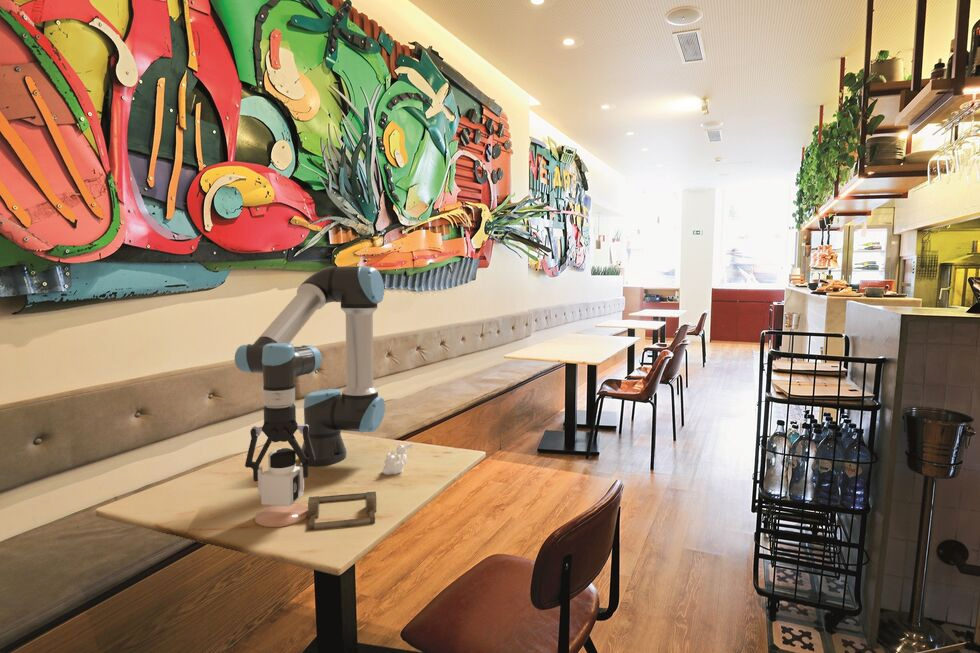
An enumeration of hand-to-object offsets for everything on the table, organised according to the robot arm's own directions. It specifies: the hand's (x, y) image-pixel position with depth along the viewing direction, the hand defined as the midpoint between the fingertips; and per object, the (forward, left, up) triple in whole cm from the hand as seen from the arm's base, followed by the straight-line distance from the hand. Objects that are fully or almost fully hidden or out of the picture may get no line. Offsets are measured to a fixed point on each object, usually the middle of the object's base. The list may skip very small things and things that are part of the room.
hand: (281, 491), depth 141 cm
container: (-1, 0, -3) cm, 3 cm away
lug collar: (+1, +15, -7) cm, 16 cm away
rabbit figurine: (-26, +32, -7) cm, 42 cm away
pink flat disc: (0, 0, -7) cm, 7 cm away
